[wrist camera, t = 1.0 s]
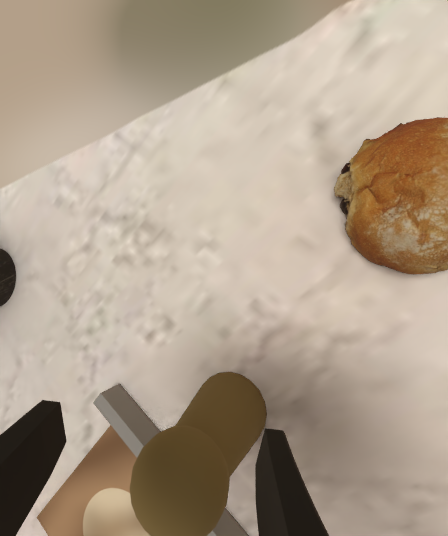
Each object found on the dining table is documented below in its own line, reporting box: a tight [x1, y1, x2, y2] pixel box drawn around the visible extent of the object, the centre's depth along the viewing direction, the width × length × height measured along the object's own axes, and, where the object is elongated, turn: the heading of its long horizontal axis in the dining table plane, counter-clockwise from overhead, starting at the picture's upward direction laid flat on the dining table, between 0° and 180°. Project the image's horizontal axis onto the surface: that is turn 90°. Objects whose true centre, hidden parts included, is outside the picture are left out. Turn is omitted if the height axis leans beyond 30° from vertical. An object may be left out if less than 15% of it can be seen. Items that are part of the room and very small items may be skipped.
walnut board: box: [37, 425, 150, 536], centre depth 26 cm, size 14×14×1 cm
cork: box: [130, 372, 267, 536], centre depth 19 cm, size 6×6×11 cm
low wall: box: [93, 384, 248, 536], centre depth 24 cm, size 18×1×2 cm, turn 49°
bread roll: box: [334, 117, 448, 274], centre depth 19 cm, size 10×10×8 cm
